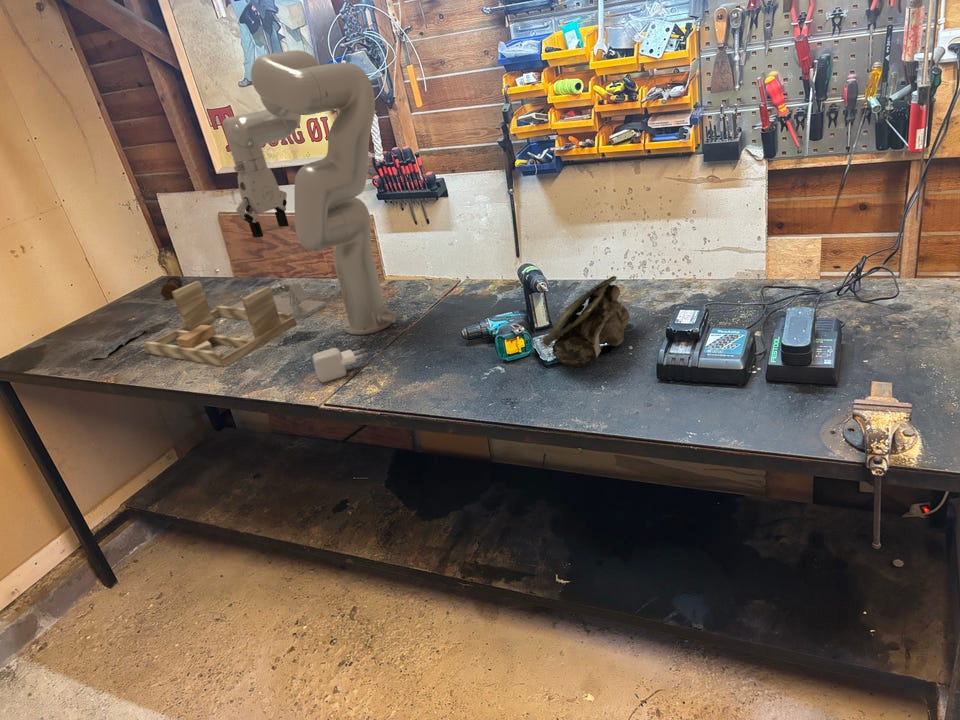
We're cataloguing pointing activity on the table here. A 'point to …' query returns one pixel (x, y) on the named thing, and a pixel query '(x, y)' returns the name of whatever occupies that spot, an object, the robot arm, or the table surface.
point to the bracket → (292, 293)
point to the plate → (298, 311)
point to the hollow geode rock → (589, 326)
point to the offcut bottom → (204, 346)
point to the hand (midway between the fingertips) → (271, 231)
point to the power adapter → (334, 363)
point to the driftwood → (118, 343)
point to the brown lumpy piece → (171, 287)
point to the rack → (197, 313)
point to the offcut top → (196, 336)
